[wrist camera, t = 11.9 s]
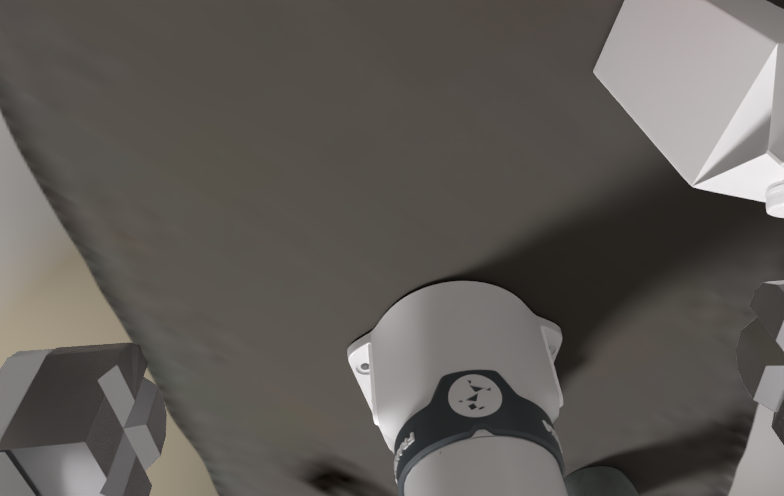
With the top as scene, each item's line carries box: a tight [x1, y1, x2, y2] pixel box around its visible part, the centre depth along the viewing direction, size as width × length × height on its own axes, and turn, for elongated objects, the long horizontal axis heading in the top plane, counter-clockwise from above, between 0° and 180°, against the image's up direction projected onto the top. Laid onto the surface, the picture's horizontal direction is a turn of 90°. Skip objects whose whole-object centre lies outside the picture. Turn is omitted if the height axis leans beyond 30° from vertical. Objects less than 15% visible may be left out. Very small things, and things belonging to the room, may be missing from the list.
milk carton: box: [593, 0, 784, 218], centre depth 33 cm, size 7×7×19 cm
